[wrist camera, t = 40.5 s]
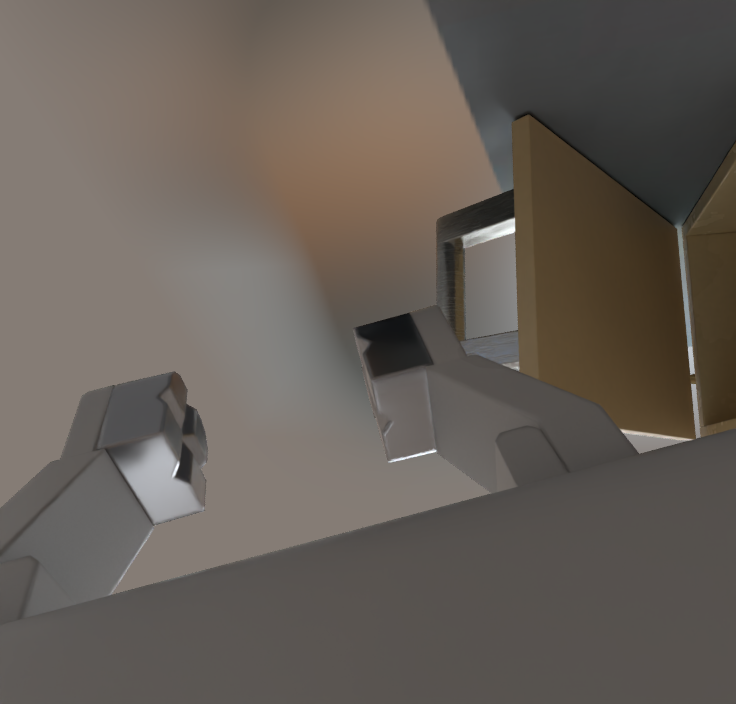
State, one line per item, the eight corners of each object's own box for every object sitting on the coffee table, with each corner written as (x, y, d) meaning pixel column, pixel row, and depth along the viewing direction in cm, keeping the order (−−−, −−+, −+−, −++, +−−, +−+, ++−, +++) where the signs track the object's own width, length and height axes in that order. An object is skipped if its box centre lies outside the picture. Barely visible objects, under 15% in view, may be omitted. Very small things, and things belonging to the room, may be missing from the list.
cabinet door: (579, 254, 46) (589, 442, 43) (416, 167, 33) (415, 425, 30) (677, 228, 41) (696, 440, 38) (528, 113, 28) (540, 418, 25)
